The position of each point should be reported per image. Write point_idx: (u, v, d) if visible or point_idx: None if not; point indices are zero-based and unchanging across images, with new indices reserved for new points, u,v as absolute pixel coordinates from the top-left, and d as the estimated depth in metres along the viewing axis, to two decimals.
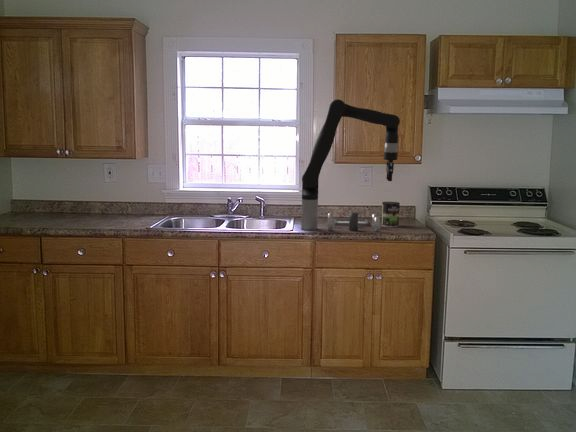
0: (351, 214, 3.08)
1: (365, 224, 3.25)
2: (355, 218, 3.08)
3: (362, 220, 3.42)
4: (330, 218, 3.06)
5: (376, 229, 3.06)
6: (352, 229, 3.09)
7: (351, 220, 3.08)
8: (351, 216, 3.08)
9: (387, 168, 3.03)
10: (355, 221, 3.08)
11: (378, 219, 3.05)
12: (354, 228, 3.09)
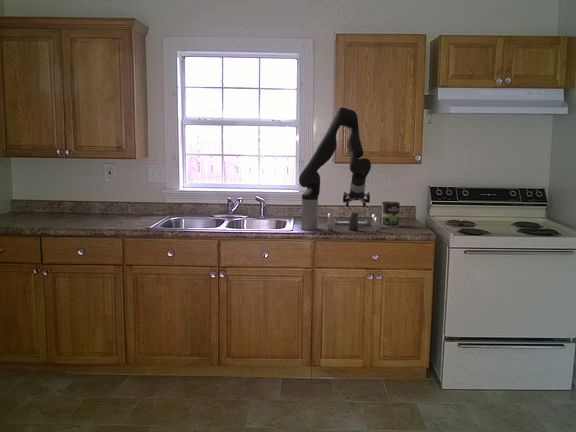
0: (351, 214, 3.08)
1: (365, 224, 3.25)
2: (355, 218, 3.08)
3: (362, 220, 3.42)
4: (330, 218, 3.06)
5: (376, 229, 3.06)
6: (352, 229, 3.09)
7: (351, 220, 3.08)
8: (351, 216, 3.08)
9: None
10: (355, 221, 3.08)
11: (378, 219, 3.05)
12: (354, 228, 3.09)
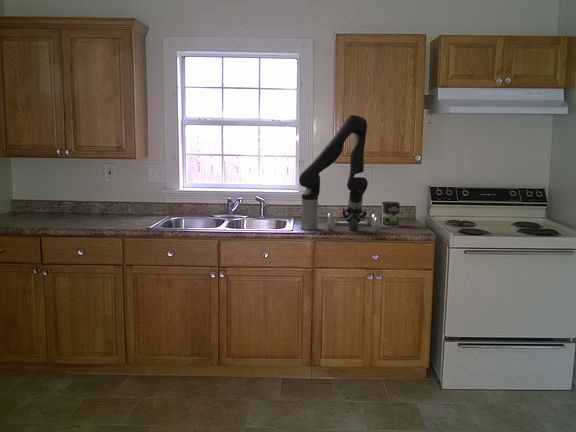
0: None
1: (365, 224, 3.25)
2: (355, 218, 3.08)
3: (362, 220, 3.42)
4: (330, 218, 3.06)
5: (376, 229, 3.06)
6: (352, 229, 3.09)
7: (351, 220, 3.08)
8: (351, 216, 3.08)
9: None
10: (355, 221, 3.08)
11: (378, 219, 3.05)
12: (354, 228, 3.09)
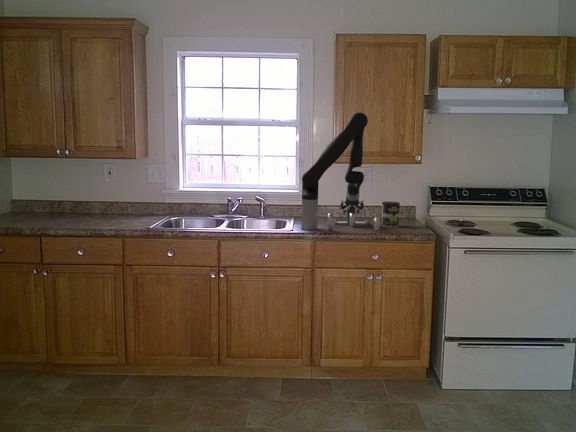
0: (349, 208, 3.31)
1: (365, 224, 3.25)
2: (352, 212, 3.31)
3: (362, 220, 3.42)
4: (330, 218, 3.06)
5: (376, 229, 3.06)
6: None
7: (349, 214, 3.32)
8: (349, 210, 3.32)
9: None
10: None
11: (378, 219, 3.05)
12: None
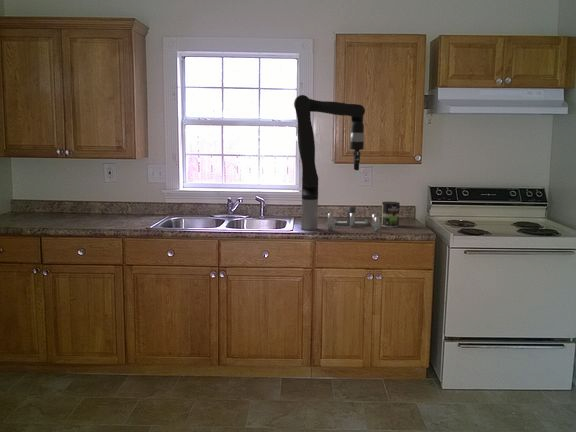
0: (349, 208, 3.31)
1: (365, 224, 3.25)
2: (353, 212, 3.31)
3: (362, 220, 3.42)
4: (330, 218, 3.06)
5: (376, 229, 3.06)
6: None
7: (349, 214, 3.32)
8: (349, 210, 3.32)
9: (354, 157, 3.06)
10: None
11: (378, 219, 3.05)
12: None
